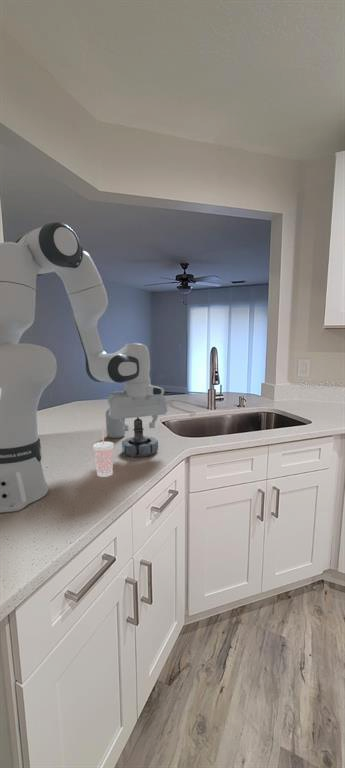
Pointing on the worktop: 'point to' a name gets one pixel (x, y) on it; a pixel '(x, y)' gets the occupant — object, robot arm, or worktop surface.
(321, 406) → the worktop surface
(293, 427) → the worktop surface
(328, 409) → the worktop surface
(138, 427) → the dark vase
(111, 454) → the beverage cup
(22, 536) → the worktop surface
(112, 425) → the can
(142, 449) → the metal ring collar
